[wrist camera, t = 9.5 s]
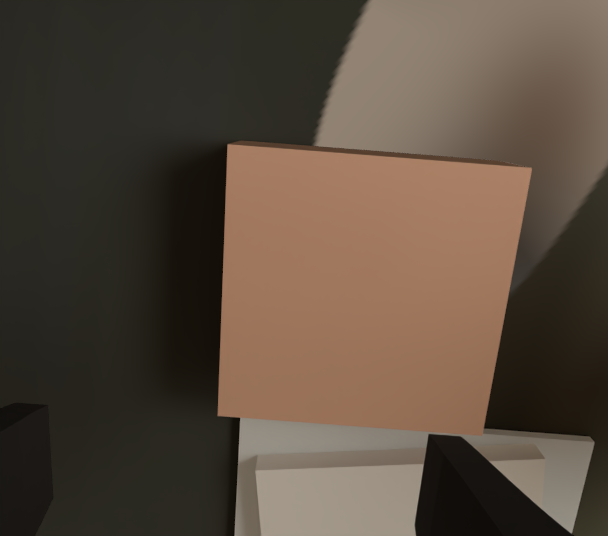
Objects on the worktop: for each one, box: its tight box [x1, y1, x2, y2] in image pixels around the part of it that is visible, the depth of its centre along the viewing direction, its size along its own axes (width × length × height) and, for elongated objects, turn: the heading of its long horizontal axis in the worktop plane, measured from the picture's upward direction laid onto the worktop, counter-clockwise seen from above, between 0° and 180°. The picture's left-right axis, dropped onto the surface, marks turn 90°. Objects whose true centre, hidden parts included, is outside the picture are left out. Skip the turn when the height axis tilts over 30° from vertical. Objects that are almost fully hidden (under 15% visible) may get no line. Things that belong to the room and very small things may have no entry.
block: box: [218, 140, 532, 436], centre depth 18 cm, size 9×9×3 cm
